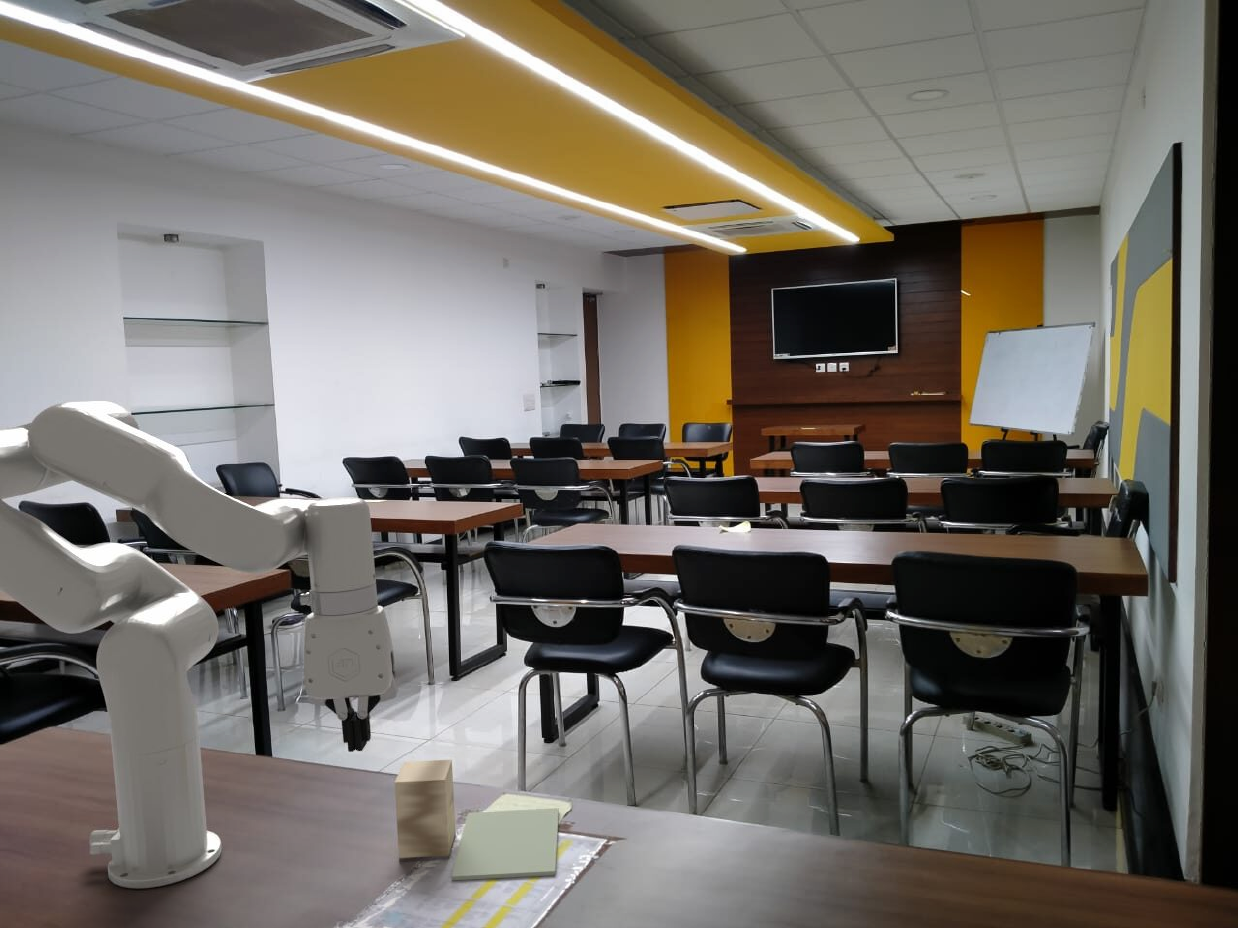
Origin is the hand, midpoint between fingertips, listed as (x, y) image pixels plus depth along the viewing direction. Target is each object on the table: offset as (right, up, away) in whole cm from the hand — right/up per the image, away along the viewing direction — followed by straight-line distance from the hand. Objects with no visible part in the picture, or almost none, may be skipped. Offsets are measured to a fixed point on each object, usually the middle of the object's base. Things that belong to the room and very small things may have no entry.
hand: (358, 746), depth 116 cm
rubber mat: (+18, -13, +2) cm, 22 cm away
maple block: (+8, -13, +2) cm, 16 cm away
